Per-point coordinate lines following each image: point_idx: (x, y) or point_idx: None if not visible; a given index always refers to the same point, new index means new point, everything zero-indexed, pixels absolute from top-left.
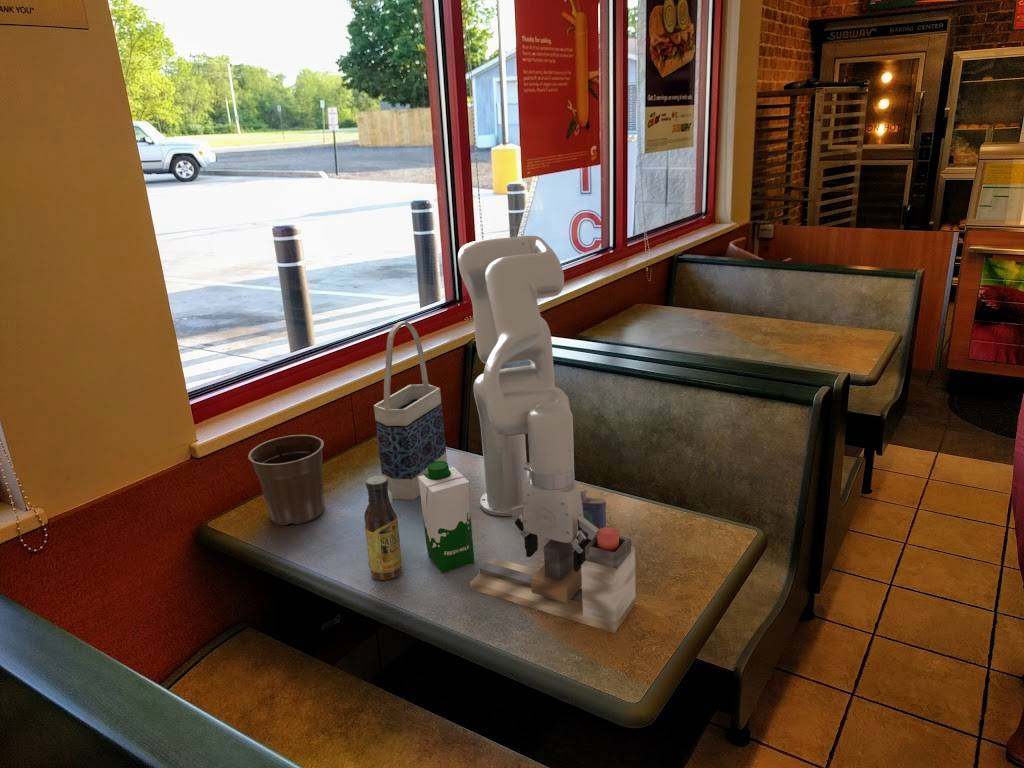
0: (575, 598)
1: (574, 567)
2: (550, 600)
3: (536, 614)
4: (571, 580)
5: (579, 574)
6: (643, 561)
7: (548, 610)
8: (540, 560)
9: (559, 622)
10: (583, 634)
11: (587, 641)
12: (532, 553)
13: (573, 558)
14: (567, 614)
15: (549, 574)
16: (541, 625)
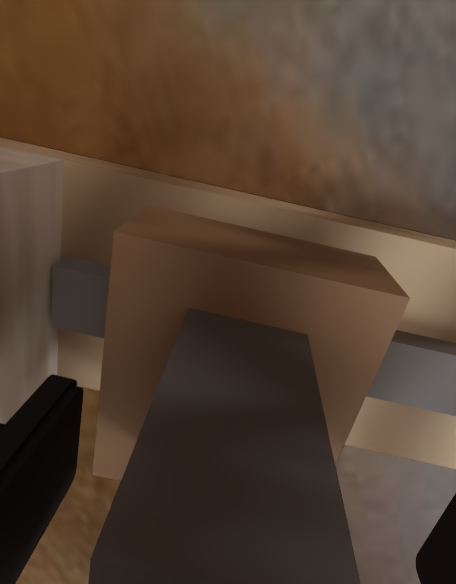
0: None
1: (52, 398)
2: None
3: (323, 172)
4: (117, 325)
5: (101, 394)
6: None
7: (266, 200)
8: (378, 510)
9: (194, 137)
10: (50, 69)
11: (8, 12)
12: (453, 517)
13: (11, 472)
14: (159, 178)
15: (272, 340)
16: (277, 85)
